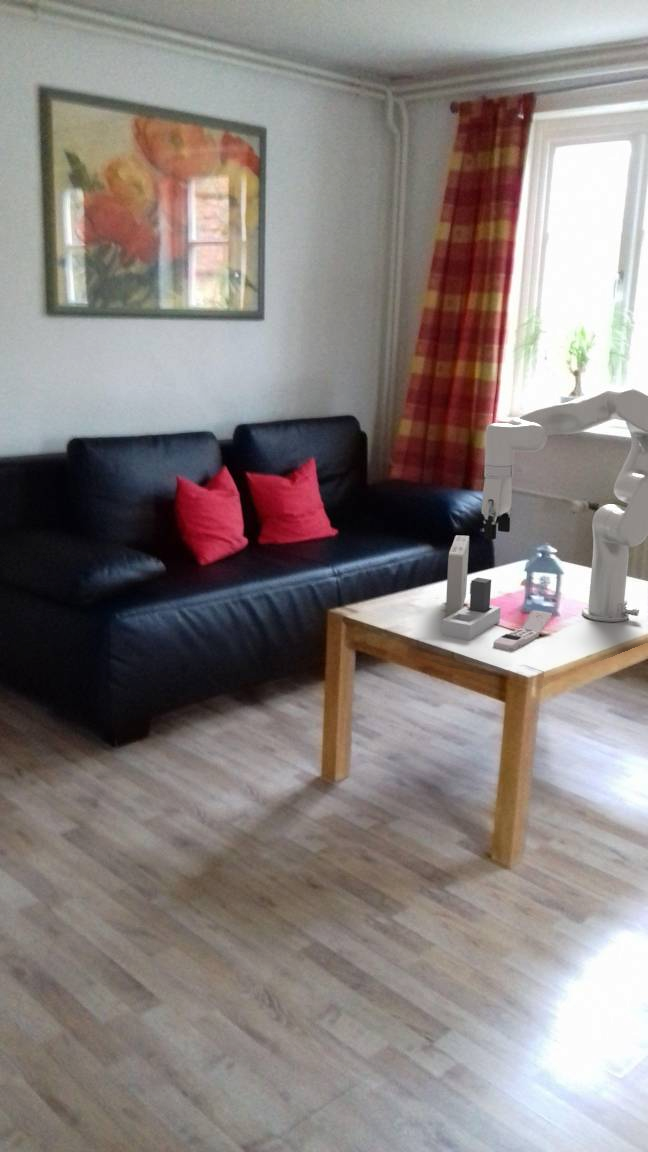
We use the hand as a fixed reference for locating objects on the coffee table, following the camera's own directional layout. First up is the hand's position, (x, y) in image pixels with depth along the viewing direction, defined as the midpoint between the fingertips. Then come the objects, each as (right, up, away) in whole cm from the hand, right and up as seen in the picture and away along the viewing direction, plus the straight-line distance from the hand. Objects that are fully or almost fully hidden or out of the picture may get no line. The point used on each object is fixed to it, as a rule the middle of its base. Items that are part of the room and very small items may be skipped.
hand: (496, 535), depth 272 cm
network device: (-9, -22, +16) cm, 28 cm away
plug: (-4, -24, +4) cm, 24 cm away
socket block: (-7, -26, 0) cm, 27 cm away
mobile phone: (+5, -28, -8) cm, 30 cm away
